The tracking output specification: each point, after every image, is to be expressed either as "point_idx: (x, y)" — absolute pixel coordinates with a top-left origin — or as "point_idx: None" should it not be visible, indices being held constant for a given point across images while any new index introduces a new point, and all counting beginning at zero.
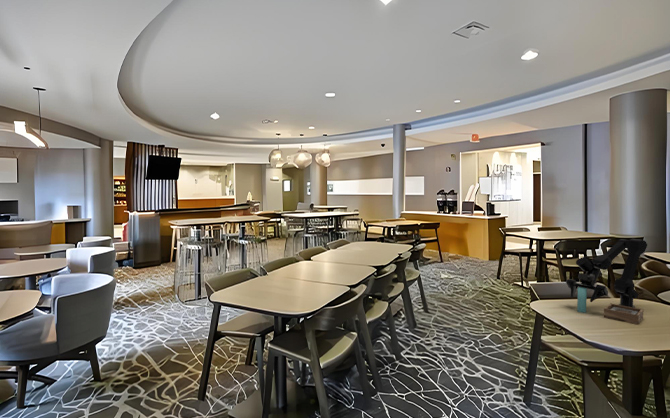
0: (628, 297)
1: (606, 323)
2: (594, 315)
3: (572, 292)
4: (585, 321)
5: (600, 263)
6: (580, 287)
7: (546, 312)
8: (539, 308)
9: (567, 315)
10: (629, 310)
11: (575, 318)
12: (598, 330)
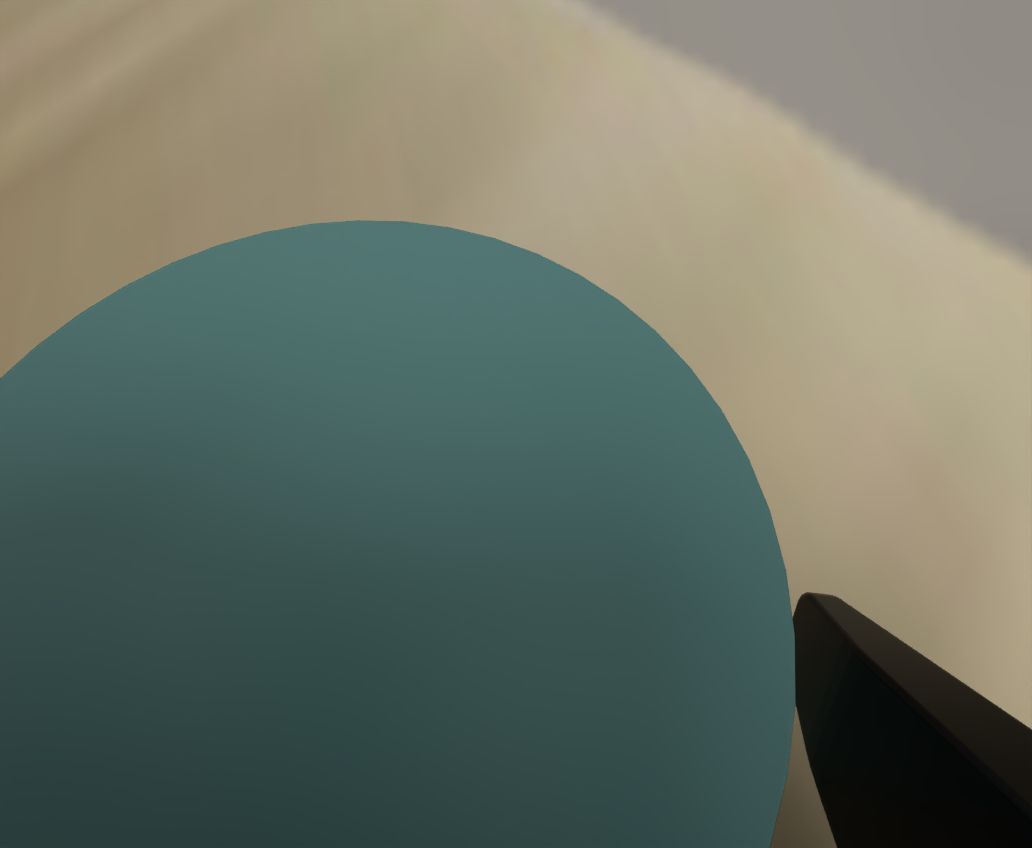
0: None
1: (70, 311)
2: None
3: (940, 716)
4: (325, 194)
5: None
6: (562, 757)
7: (836, 182)
8: (1026, 282)
9: (584, 262)
10: None
11: (457, 217)
12: (169, 27)
